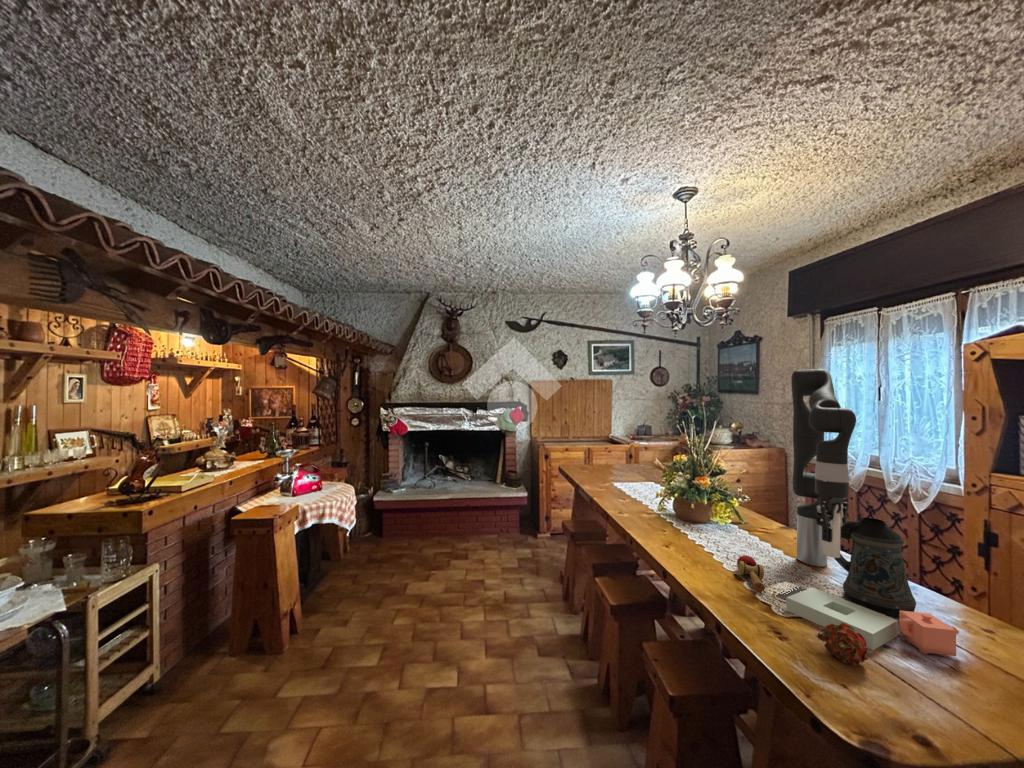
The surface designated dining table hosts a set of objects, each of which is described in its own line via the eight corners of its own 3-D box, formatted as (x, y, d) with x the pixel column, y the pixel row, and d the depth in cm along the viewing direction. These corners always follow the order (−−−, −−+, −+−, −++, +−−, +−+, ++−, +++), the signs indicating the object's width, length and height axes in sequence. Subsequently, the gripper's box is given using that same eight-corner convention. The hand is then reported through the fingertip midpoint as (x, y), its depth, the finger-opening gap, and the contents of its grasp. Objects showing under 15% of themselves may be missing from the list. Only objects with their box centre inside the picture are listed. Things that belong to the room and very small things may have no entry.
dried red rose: (851, 682, 91) (831, 658, 102) (888, 665, 89) (864, 643, 100) (823, 643, 94) (806, 624, 105) (858, 626, 92) (837, 609, 103)
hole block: (812, 600, 124) (812, 587, 124) (897, 635, 107) (897, 620, 107) (786, 611, 118) (786, 597, 118) (872, 650, 100) (872, 634, 100)
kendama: (776, 597, 127) (758, 567, 144) (772, 578, 127) (755, 550, 144) (748, 598, 129) (734, 569, 147) (745, 579, 129) (731, 552, 146)
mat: (785, 581, 137) (785, 580, 137) (818, 594, 128) (818, 593, 128) (760, 590, 130) (760, 589, 130) (794, 604, 121) (794, 603, 122)
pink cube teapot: (972, 662, 96) (972, 627, 97) (912, 655, 99) (912, 620, 99) (944, 643, 104) (944, 610, 104) (890, 636, 106) (890, 604, 107)
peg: (826, 551, 117) (826, 509, 118) (843, 556, 114) (843, 513, 114) (819, 553, 115) (819, 510, 116) (835, 558, 112) (835, 514, 112)
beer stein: (932, 622, 113) (932, 532, 114) (852, 613, 117) (852, 526, 118) (890, 594, 130) (890, 515, 130) (821, 587, 134) (821, 510, 134)
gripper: (829, 474, 122) (829, 533, 121) (802, 477, 115) (802, 539, 115) (860, 479, 115) (860, 541, 114) (833, 482, 109) (833, 548, 108)
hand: (831, 539), depth 115 cm, fingers closed on peg, 4 cm apart
